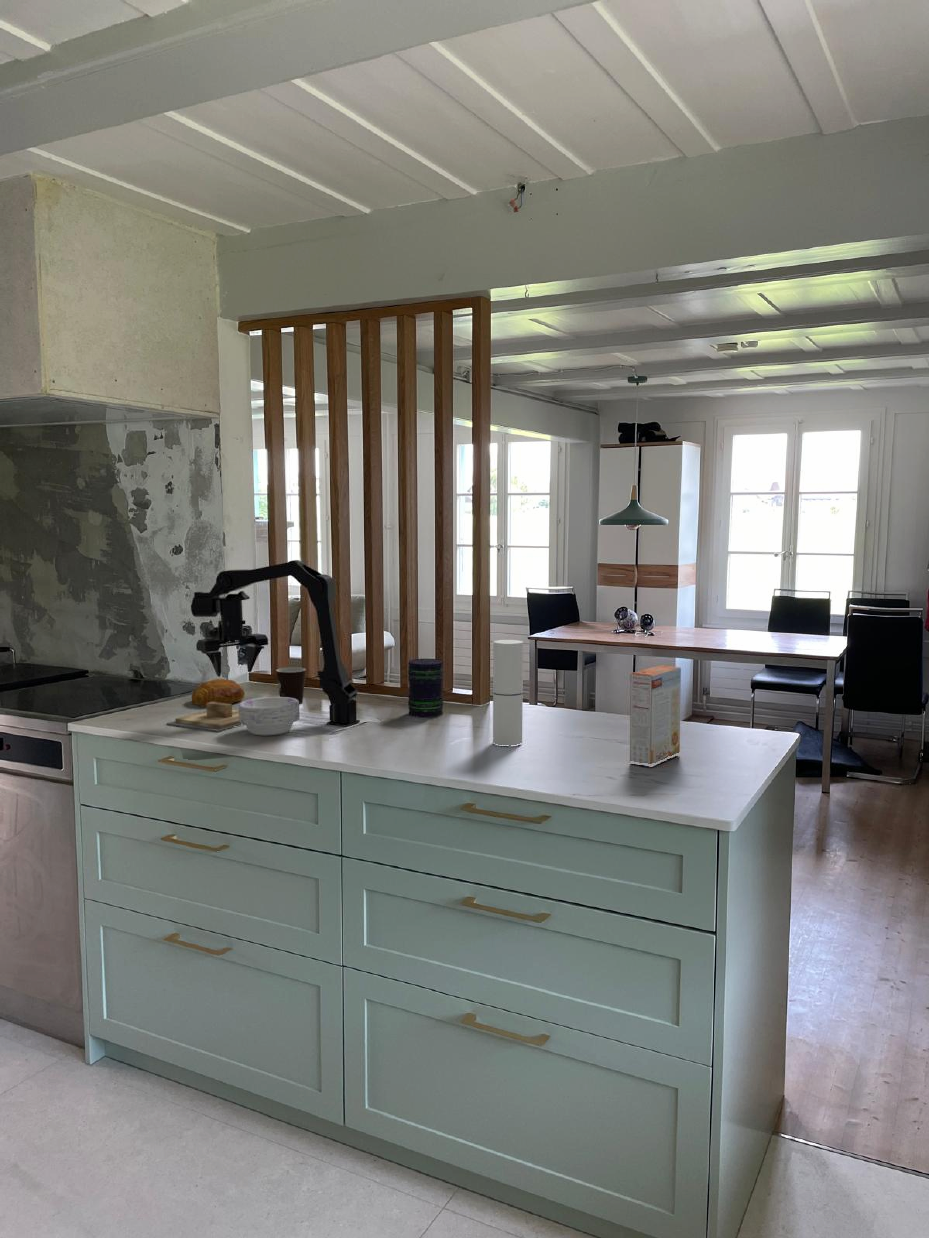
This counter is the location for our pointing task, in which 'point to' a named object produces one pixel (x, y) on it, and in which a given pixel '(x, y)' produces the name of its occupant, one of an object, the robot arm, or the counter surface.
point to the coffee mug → (291, 683)
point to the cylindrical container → (507, 692)
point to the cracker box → (655, 713)
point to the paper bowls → (269, 715)
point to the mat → (199, 726)
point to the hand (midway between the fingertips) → (234, 674)
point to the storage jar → (425, 688)
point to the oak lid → (213, 716)
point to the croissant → (217, 692)
